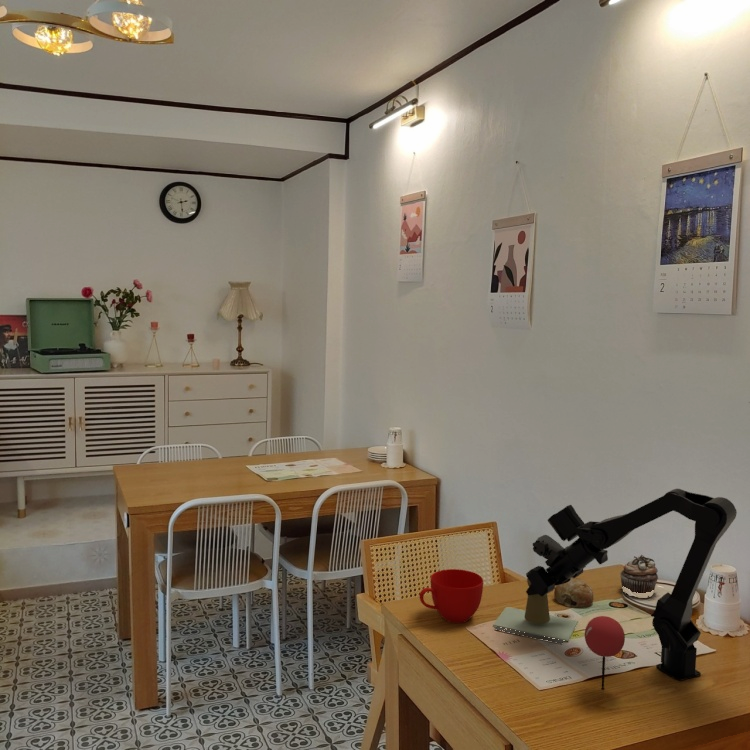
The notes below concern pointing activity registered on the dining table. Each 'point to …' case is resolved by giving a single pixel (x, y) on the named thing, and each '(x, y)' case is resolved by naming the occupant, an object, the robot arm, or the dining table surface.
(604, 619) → the lollipop
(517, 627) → the green spiral notebook
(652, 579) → the cupcake
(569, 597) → the bread roll
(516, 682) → the dining table surface
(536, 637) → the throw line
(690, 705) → the dining table surface
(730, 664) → the dining table surface
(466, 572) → the ceramic cup
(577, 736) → the dining table surface
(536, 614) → the olive game pawn
